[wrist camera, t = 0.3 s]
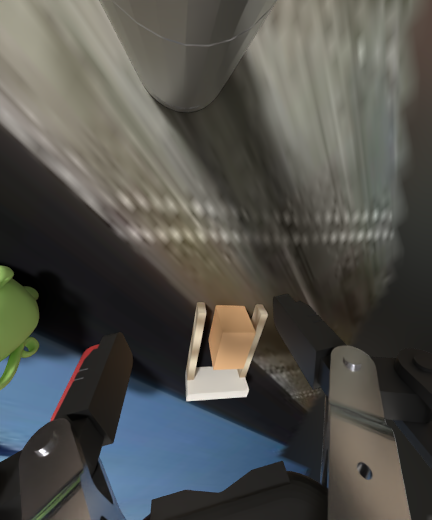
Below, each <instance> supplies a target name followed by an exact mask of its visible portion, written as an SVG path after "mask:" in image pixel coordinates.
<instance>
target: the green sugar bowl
mask: <svg viewBox="0 0 432 520" xmlns="http://www.w3.org/2000/svg"><path fill="white" fill-rule="evenodd" d="M13 276H14V273H13V271H12V270H11V269H10V268H9V267H6V266H0V362H1V361H2V360H3V359H5V358H6V357H7V356H9V355H10V357H9V360H8V363H7V366H6V369H5V371H4V373H3V375H2V377H1V378H0V390H1V389H3V388H4V387H5V386H6V385H7V384H8V383H9V382H10V381H11V380H12V378H13V377H14V375H15V373H16V371H17V368H18V365H19V362H20V359H21V357H22V358H26V357H30V356H32V355H33V354H35V353H36V352H37V350H38V348H39V343H38V341H37V340H36V339H35V338H33V337H29V336H30V334H31V333H32V332H33V331H34V329H35V328H36V326H37V324H38V321H39V308H38V305H37V302H36V300H37V299H38V297H39V294H38V292H37V291H36V290H35V289H33V288H31V287H28V286H22V285H20V284H19V283H18V282H17V281H15V280H14V279H13V278H12V277H13ZM24 346H26V347H27V348H28V350H29V351H28V352H27V351H25V350H23V349H24Z"/></svg>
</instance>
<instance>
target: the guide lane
mask: <svg viewBox="0 0 432 520" xmlns="http://www.w3.org/2000/svg"><path fill="white" fill-rule="evenodd" d="M267 316H268V314H267V312H266V310H265V308H264V306H263V305H259V304H256V306H255V309H254V312H253V316H252V319H251V322H252V325H253V327H254V329H255V332H256V334H255V337H254V340H253V343H252V346H251V348H250V351H249V354H248V357H247V360H246V363H245V366H244V368H243V369H237V371H238V374H239V378H242V377H245V376H246V374H247V371H248V368H249V366H250V363H251V360H252V357H253V355H254V352H255V349H256V346H257V344H258V341H259V338H260V335H261V333H262V330H263V327H264V325H265V322H266V319H267ZM205 318H206V308H205V303H202V302H197V307H196V313H195V319H194V325H193V332H192V338H191V344H190V350H189V356H188V362H187V380H194V375H195V370H196V364H197V359H198V354H199V349H200V344H201V339H202V333H203V328H204V323H205Z"/></svg>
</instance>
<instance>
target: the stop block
mask: <svg viewBox="0 0 432 520" xmlns="http://www.w3.org/2000/svg"><path fill="white" fill-rule="evenodd" d="M248 392H249V388H248V385H247V382H246V378H245V377H242V378H239V374H238V371H237V369H226V370H213V367H196V370H195V375H194V380H187V368H186V401H195V400H209V399H223V398H236V397H247V394H248Z"/></svg>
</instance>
